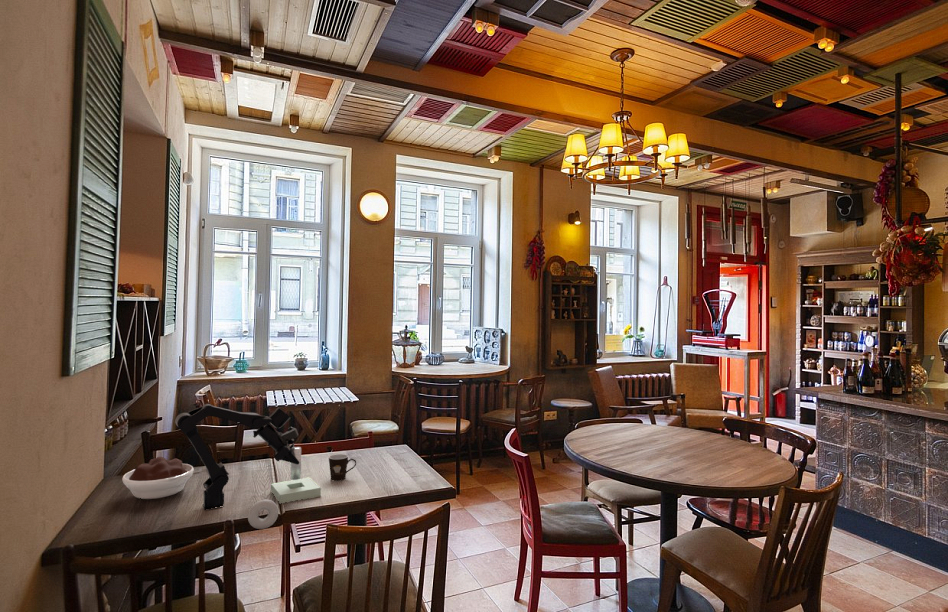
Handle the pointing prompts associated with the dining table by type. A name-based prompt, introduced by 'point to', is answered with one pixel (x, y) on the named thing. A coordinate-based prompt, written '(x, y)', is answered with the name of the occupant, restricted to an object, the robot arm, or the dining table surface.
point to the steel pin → (294, 467)
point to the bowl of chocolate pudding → (158, 478)
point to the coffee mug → (339, 466)
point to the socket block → (295, 490)
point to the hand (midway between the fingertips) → (299, 462)
